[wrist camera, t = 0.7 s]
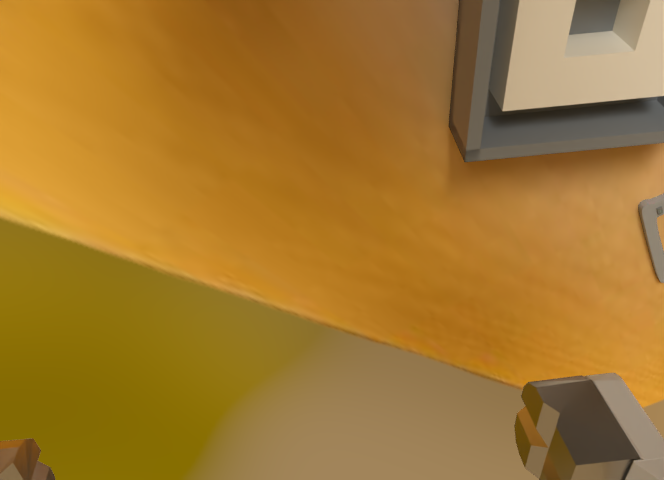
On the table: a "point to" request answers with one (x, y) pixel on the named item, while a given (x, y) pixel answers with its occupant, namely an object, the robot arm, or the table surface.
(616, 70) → the open box
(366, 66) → the table surface
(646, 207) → the office telephone
